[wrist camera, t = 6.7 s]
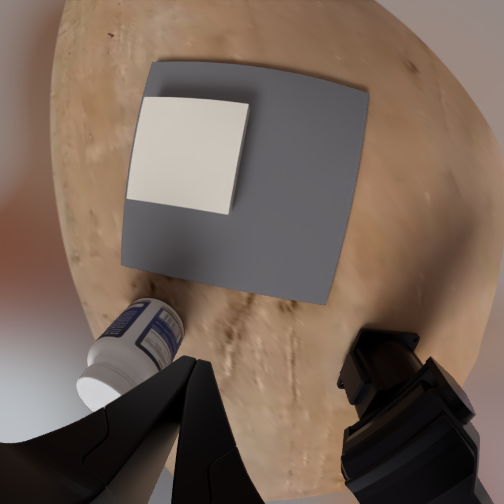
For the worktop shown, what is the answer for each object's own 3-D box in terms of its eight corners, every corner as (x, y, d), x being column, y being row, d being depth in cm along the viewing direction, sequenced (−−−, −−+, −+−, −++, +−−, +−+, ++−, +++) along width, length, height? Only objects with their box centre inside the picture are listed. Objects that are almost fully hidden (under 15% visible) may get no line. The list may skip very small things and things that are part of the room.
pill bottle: (125, 337, 22) (72, 407, 13) (130, 287, 21) (61, 350, 11) (179, 358, 22) (143, 441, 13) (191, 309, 21) (146, 392, 11)
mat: (366, 95, 16) (369, 93, 15) (323, 301, 20) (325, 305, 20) (155, 64, 16) (152, 62, 15) (124, 262, 20) (120, 265, 20)
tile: (248, 104, 15) (144, 96, 15) (228, 214, 16) (126, 198, 16) (250, 111, 16) (153, 103, 16) (231, 211, 18) (137, 196, 18)
